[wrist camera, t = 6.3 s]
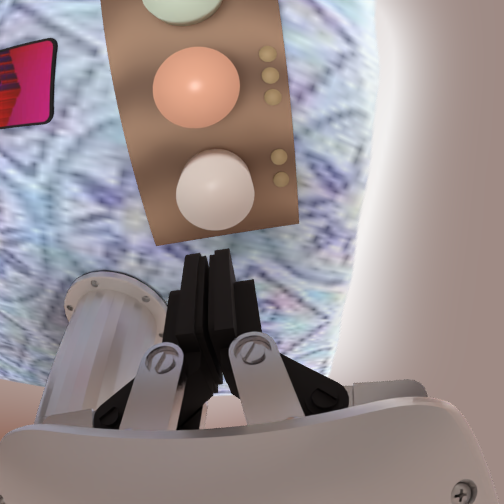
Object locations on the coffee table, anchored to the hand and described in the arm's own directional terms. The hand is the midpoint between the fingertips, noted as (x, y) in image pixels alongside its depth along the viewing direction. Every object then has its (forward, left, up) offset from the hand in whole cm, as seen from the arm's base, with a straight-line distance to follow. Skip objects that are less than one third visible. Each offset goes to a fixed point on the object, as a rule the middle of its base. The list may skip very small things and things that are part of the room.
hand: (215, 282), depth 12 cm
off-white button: (0, 0, -11) cm, 11 cm away
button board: (+7, 0, -14) cm, 16 cm away
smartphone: (+13, +19, -15) cm, 27 cm away
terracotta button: (+7, 0, -11) cm, 13 cm away
